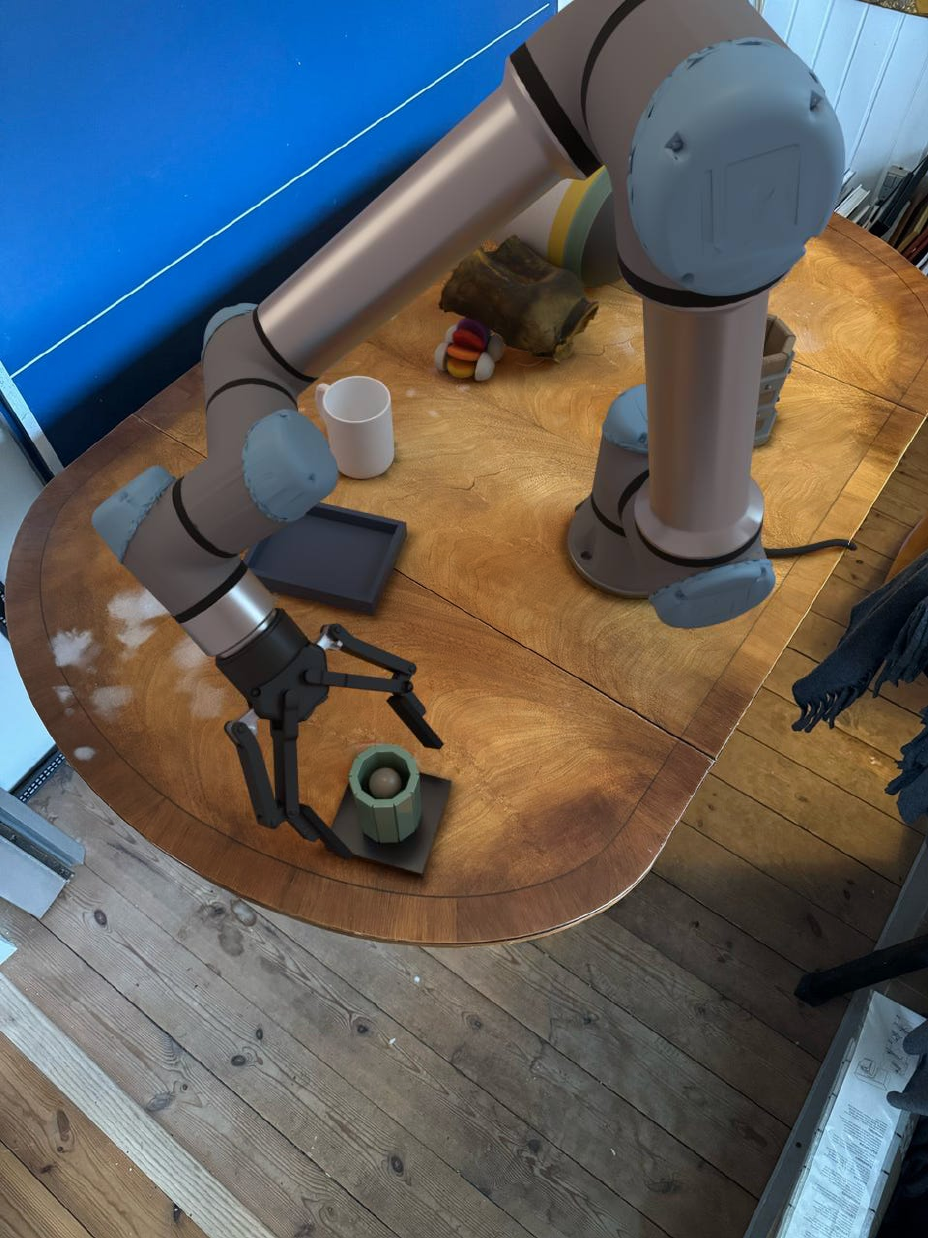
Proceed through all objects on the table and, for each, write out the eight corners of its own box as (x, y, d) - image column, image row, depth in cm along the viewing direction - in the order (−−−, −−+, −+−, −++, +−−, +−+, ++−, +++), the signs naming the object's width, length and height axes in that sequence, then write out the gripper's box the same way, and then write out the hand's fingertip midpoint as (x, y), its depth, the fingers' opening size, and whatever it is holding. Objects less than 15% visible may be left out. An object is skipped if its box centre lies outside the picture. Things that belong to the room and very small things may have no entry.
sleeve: (428, 791, 90) (426, 753, 82) (409, 851, 86) (405, 816, 79) (370, 775, 90) (363, 736, 83) (348, 834, 87) (339, 798, 80)
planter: (587, 294, 124) (469, 229, 130) (628, 319, 141) (522, 261, 148) (662, 154, 117) (534, 93, 124) (695, 199, 134) (581, 143, 141)
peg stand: (452, 786, 92) (452, 743, 83) (422, 879, 86) (419, 843, 78) (360, 761, 93) (351, 716, 85) (325, 851, 88) (312, 812, 79)
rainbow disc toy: (428, 377, 126) (427, 334, 120) (454, 335, 131) (454, 293, 125) (484, 392, 124) (486, 350, 118) (508, 350, 130) (511, 307, 124)
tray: (407, 535, 110) (406, 521, 108) (373, 616, 103) (371, 603, 101) (282, 506, 112) (278, 492, 110) (241, 583, 106) (236, 570, 103)
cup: (363, 490, 114) (356, 432, 106) (299, 445, 118) (287, 386, 110) (407, 455, 118) (404, 396, 109) (343, 413, 122) (335, 353, 113)
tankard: (781, 402, 124) (817, 311, 112) (758, 462, 118) (794, 373, 105) (644, 361, 129) (664, 269, 116) (615, 417, 122) (633, 326, 110)
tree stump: (575, 313, 110) (443, 229, 111) (534, 388, 116) (409, 307, 118) (620, 286, 131) (507, 215, 132) (583, 351, 137) (476, 283, 138)
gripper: (322, 546, 85) (447, 703, 93) (122, 734, 74) (284, 896, 82) (360, 536, 79) (490, 706, 87) (149, 740, 68) (321, 915, 76)
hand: (391, 798), depth 84 cm, fingers open, 13 cm apart
